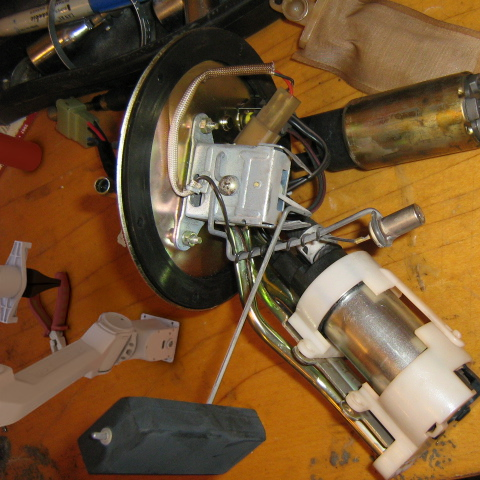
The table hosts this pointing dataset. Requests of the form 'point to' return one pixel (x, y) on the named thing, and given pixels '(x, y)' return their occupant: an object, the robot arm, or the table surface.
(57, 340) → the pliers
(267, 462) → the table surface
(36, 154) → the red cylinder
